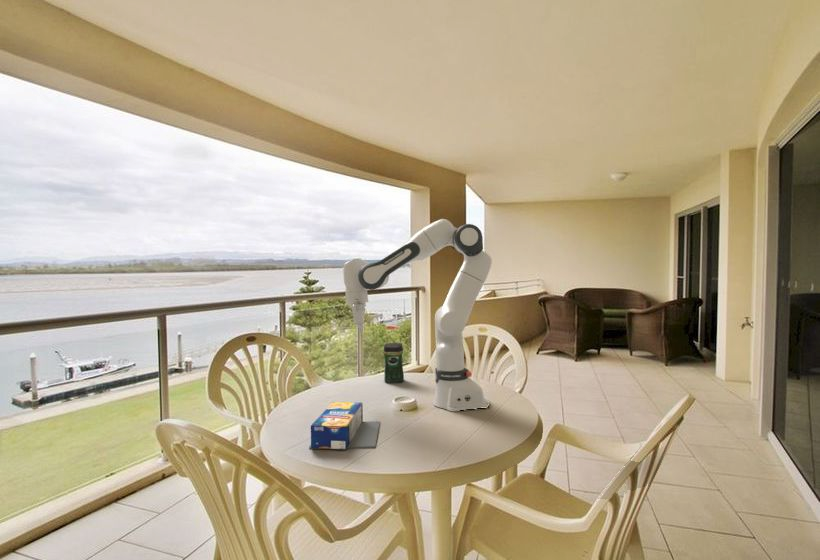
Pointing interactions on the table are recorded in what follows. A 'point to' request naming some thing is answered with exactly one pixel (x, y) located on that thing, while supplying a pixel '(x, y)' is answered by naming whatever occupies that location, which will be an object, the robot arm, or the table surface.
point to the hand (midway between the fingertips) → (361, 332)
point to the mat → (364, 436)
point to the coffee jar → (393, 363)
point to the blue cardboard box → (336, 425)
